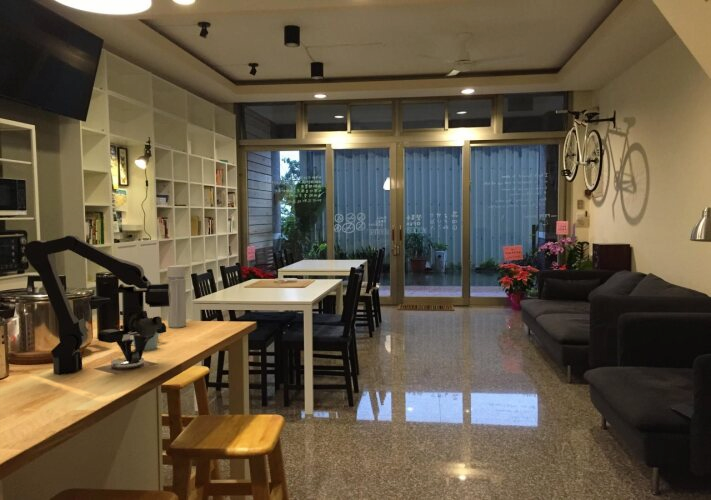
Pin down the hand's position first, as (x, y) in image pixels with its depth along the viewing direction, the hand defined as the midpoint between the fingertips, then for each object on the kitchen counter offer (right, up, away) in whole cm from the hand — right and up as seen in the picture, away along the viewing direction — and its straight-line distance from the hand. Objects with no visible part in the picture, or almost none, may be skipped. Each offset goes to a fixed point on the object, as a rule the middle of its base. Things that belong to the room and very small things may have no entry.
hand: (134, 361), depth 163 cm
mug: (-11, -1, +39) cm, 40 cm away
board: (-3, -3, +2) cm, 5 cm away
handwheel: (-3, -2, +2) cm, 4 cm away
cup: (-6, -2, +24) cm, 25 cm away
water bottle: (-9, 0, +68) cm, 68 cm away
